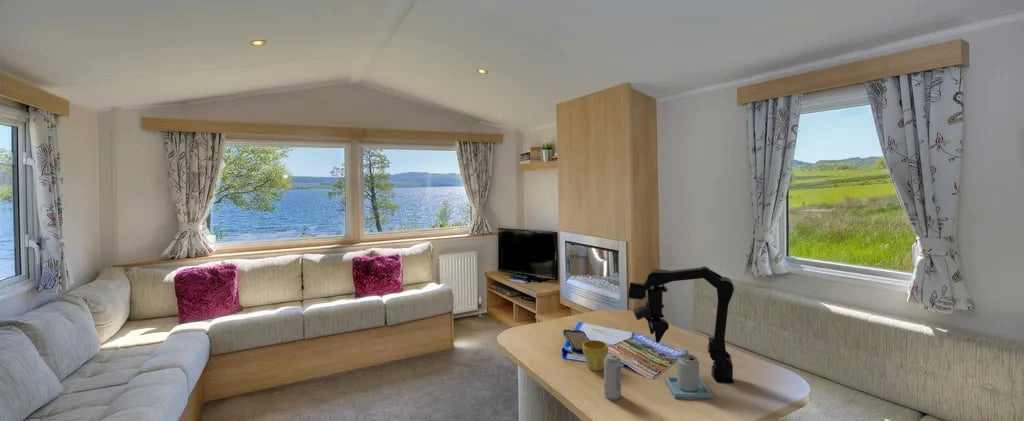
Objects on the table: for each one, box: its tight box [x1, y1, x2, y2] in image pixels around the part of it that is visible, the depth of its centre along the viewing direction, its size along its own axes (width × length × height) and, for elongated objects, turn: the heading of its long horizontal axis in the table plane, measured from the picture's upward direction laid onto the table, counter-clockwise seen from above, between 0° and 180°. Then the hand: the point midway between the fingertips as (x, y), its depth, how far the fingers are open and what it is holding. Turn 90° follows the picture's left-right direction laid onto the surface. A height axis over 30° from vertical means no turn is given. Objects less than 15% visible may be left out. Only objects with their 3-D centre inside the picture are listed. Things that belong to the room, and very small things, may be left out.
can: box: [676, 353, 700, 392], centre depth 158 cm, size 8×8×12 cm
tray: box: [664, 375, 714, 400], centre depth 158 cm, size 13×13×2 cm
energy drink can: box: [603, 353, 622, 401], centre depth 154 cm, size 6×6×15 cm
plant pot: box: [582, 339, 609, 372], centre depth 177 cm, size 10×10×10 cm
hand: (654, 338), depth 175 cm, fingers open, 9 cm apart
